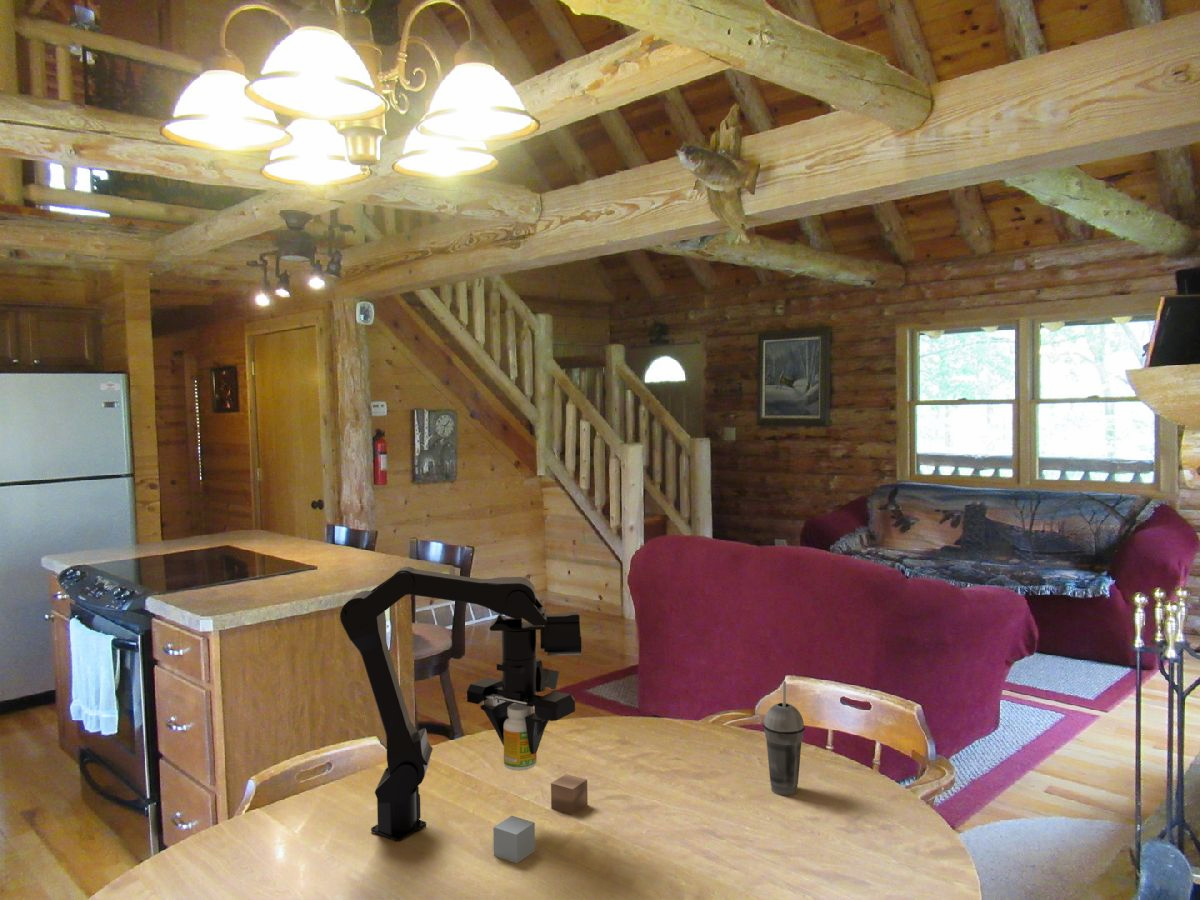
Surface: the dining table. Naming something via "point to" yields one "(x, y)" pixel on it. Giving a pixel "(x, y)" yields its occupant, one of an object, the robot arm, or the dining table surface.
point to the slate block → (514, 839)
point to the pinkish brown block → (569, 794)
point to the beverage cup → (784, 746)
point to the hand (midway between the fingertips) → (520, 749)
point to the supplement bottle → (517, 739)
